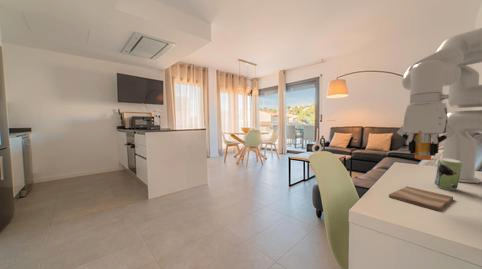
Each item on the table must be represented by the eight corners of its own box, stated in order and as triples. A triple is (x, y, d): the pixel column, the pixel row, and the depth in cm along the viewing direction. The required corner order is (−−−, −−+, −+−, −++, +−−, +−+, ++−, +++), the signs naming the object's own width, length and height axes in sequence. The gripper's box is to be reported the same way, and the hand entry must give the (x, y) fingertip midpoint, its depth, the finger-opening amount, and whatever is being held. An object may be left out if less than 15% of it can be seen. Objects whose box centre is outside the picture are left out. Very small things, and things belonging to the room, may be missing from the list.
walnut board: (406, 188, 71) (406, 186, 71) (453, 199, 61) (453, 196, 61) (388, 197, 63) (388, 194, 63) (438, 211, 52) (438, 207, 52)
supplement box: (413, 157, 63) (414, 129, 63) (425, 158, 62) (427, 129, 61) (418, 159, 60) (419, 129, 60) (431, 160, 59) (433, 129, 58)
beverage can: (446, 185, 74) (447, 157, 74) (466, 192, 67) (468, 160, 67) (429, 185, 75) (430, 156, 74) (447, 191, 68) (449, 160, 67)
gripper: (467, 97, 55) (464, 157, 56) (398, 103, 69) (396, 150, 70) (462, 95, 51) (458, 159, 52) (389, 102, 65) (387, 152, 66)
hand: (422, 153), depth 61 cm, fingers closed on supplement box, 4 cm apart
